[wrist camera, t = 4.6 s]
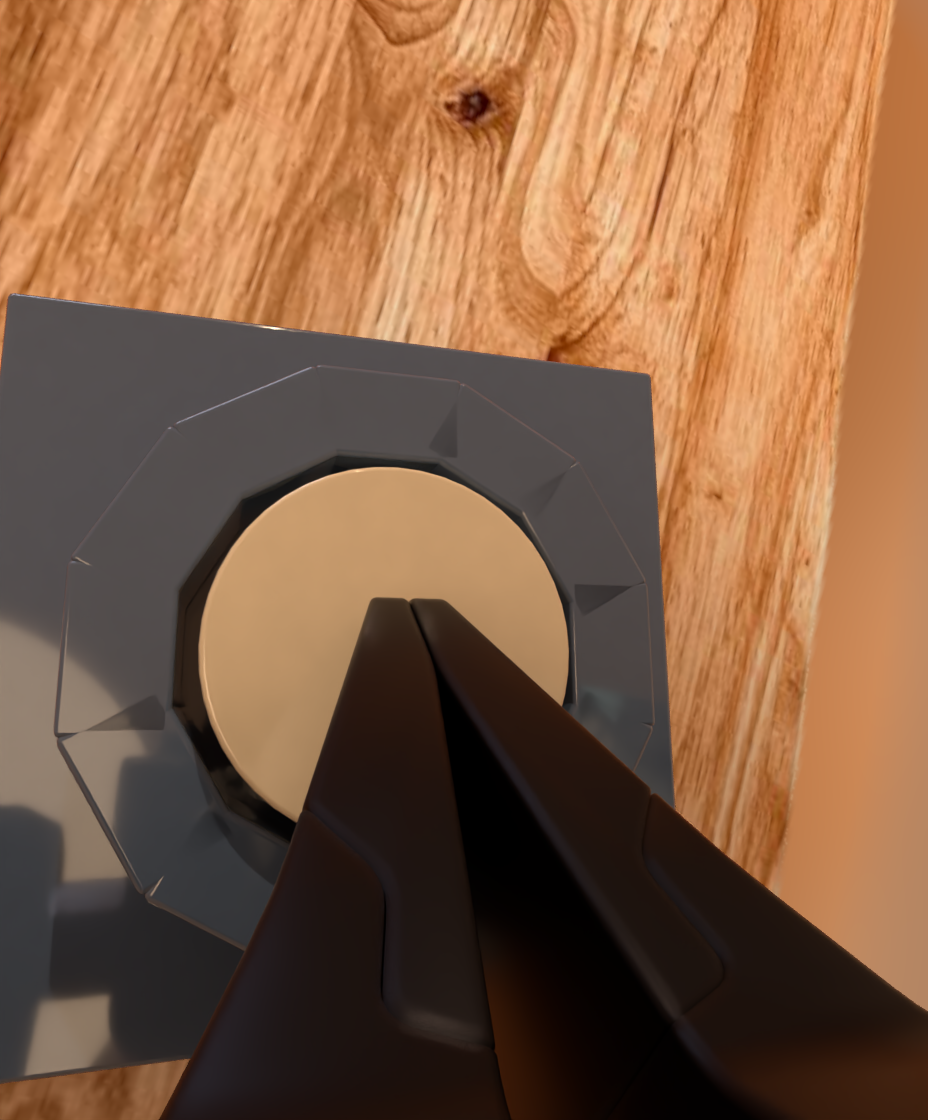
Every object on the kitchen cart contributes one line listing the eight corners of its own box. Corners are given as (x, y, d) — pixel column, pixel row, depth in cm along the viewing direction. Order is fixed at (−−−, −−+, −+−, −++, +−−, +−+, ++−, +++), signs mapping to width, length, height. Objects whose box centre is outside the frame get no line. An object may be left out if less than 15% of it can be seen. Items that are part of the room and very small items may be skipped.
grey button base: (551, 910, 17) (766, 1043, 10) (27, 959, 14) (-149, 1189, 7) (538, 460, 18) (713, 324, 12) (73, 420, 16) (-34, 211, 9)
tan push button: (516, 812, 11) (577, 834, 9) (193, 830, 10) (187, 860, 8) (510, 515, 12) (565, 478, 10) (210, 496, 11) (207, 450, 9)
